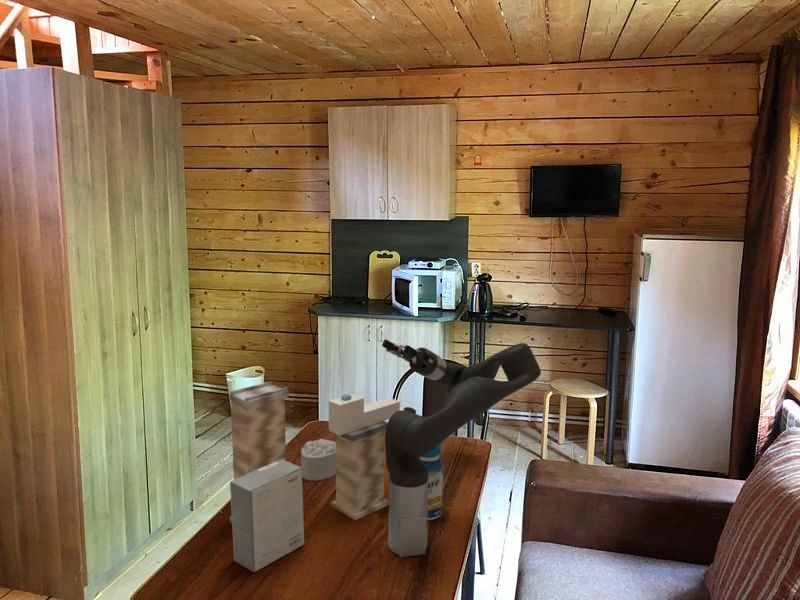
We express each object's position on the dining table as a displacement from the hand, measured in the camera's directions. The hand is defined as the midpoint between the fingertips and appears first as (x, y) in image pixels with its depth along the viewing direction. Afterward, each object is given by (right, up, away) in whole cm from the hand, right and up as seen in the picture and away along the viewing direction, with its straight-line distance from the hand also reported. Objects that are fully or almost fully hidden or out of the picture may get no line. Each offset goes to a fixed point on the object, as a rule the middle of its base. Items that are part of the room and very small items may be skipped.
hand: (394, 345), depth 183 cm
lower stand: (-9, -43, -6) cm, 44 cm away
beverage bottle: (+9, -44, -10) cm, 46 cm away
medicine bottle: (+4, -35, +36) cm, 50 cm away
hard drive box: (-29, -47, -29) cm, 62 cm away
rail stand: (-34, -44, -13) cm, 57 cm away
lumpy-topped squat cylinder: (-23, -39, +14) cm, 47 cm away
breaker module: (-8, -20, -9) cm, 23 cm away
